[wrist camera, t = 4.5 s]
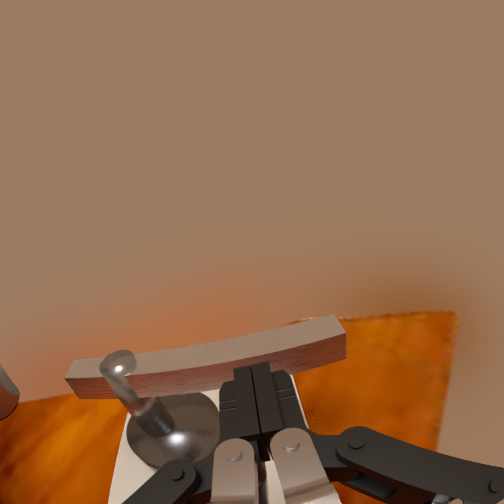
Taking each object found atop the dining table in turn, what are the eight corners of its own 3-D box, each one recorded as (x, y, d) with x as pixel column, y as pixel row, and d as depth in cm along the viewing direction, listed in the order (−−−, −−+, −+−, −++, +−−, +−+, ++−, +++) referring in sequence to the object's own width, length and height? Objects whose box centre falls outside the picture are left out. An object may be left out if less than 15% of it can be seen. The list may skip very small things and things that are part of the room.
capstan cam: (125, 480, 17) (46, 404, 13) (138, 415, 26) (86, 334, 21) (354, 452, 18) (366, 361, 14) (325, 385, 26) (319, 289, 22)
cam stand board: (110, 526, 12) (103, 522, 12) (135, 403, 29) (131, 397, 29) (335, 518, 13) (336, 515, 13) (292, 379, 30) (291, 373, 29)
